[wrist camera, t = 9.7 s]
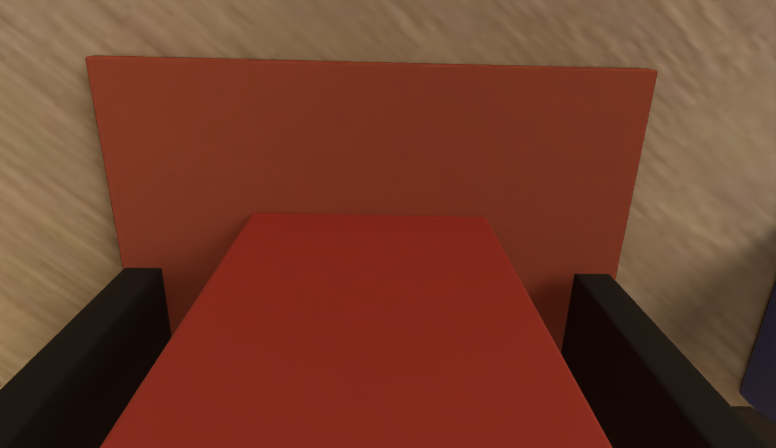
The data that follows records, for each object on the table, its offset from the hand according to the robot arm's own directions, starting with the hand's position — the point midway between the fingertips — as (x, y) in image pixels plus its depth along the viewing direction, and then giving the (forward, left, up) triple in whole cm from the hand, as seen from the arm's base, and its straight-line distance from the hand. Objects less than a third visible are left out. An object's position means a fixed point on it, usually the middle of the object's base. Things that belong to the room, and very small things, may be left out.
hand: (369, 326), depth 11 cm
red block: (0, 0, -1) cm, 1 cm away
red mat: (0, 0, -1) cm, 1 cm away
